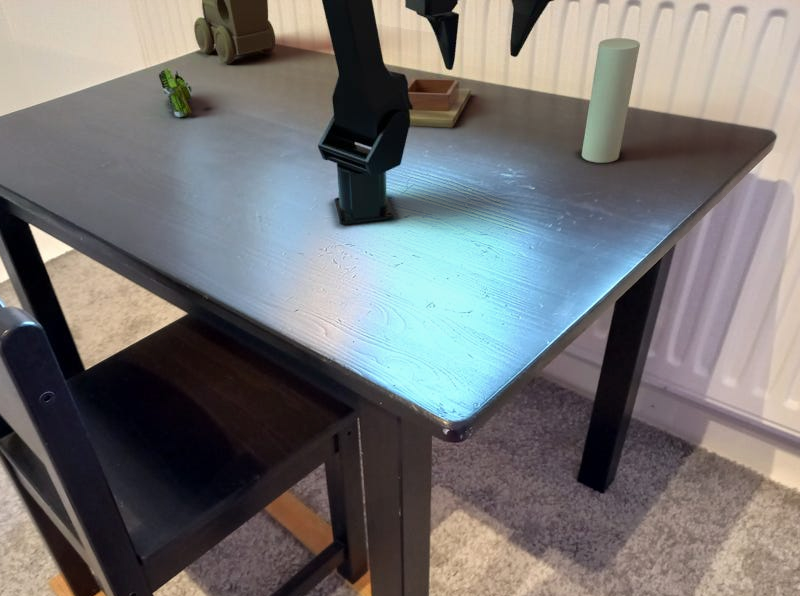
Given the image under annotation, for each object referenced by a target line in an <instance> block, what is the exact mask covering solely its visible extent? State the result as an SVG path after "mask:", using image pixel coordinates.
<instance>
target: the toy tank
mask: <svg viewBox="0 0 800 596" xmlns="http://www.w3.org/2000/svg"><path fill="white" fill-rule="evenodd" d="M175 72H176V73H175V74H174V75H173V73H172V71H171V70H170V69H169V68H164V69H163V70H161V72H159V74H158V78H159V81H160V83H161V87H162V89H163V92H164V94H166V95H168V96H167V99H168V101H169V104H170V107H171V110H172V113H173V115H174V117H178V118H182V117H187V116H188V115H189V114H191V113H192V110H191V108H190V105H189V103H188V100H190V99H191V97H192V96H191V93H192V92H193V90H192V89H193V88H192V86H191V85H189V83H188V82H185V79H184V78H183V76H179V74H178V71H175Z"/></svg>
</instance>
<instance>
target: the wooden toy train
mask: <svg viewBox="0 0 800 596" xmlns="http://www.w3.org/2000/svg"><path fill="white" fill-rule="evenodd" d="M268 2H269V1H268V0H201V8H202V15H203V17H201V16H200V17H198V18H197V19H196V20H195V22H194V25H193V31H194V37H195V40H196V44H197V45H198V48H199V49H200V51H201V52H203V53H204V54H207V55H210V54H211V53H212V52H213V51H214V48H215V50H216V53H217V55H218V57H219V59H220V60H221V61H222V62H223V63H224V64H226V65H231V64H232V63H234V61H235V58H236V55H237V56H241V55H246V54H250V53H253V52H259V51H260V52H261V53H262V54H264V55H271V54H272V53H273V52H274V51H275V47H276V34H275V30H274V27H273V25H272V22H270V20H269V3H268Z"/></svg>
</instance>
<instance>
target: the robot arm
mask: <svg viewBox="0 0 800 596" xmlns="http://www.w3.org/2000/svg"><path fill="white" fill-rule="evenodd" d="M554 1H555V0H511V4H512V17H511V18H512V19H511V30H510V41H509V49H510V50H509V53H510V56H511V57H513V58H516V57H518V56H519V54H520V52H521V51H522V49H523V48H524V47H523V46H524V45H525V43H526V42H527V39H528V38H529V36H530V34H531V32H532V30H533V29H534V27H535V25H536V23H537V22H538V20H539V19H540V17H541V16H542V15H543V12H544V11H545V9H546V8H547V6H548V5H549V3H550V2H554ZM404 2H405V5H404V6H405V8H406V9H409V10H411V11H413V12H415V14H416V15H418V16H420V17H422V18H425V19H426V20H427V21H428V23H429V25H430V26H431V29H432V31H433V33H434V35H435V38H436V42H437V45H438V48H439V51H440V54H441V57H442V61H443V64H444V67H445V69H446V70H448V71H452V70H453V68H454V64H455V60H456V52H457V40H458V31H459V22H460V21H459V20H460V13H457V12H455V11H454V9H455V8H456V7H457V5H458V4H459V0H405V1H404ZM321 3H322V7H323V11H324V16H325V19H326V24H327V28H328V34H329V37H330V42H331V46H332V51H333V54H334V58H335V62H336V66H337V71H338V77H337V80H336V82H335V86H334V89H333V93H332V95H331V101H332V111H333V116H332V118H331V119H330V121H329V122H328V125H327V127H326V129H325V130H324V133H323V134H322V136H321V138H320V140H319V142H318V144H317V148H318V151H319V153H320V156H321V159H322V160H324V161H329V162H332V163H334V164H336V171H337V187H338V197H335V198H334V207H335V211H336V214H337V219H338V223H339V225H351V224H359V223H361V224H362V223H368V222H377V221H384V220H385V221H386V220H393V219H394V216H395V215H394V211H393V208H392V205H391V203H390V201H389V197H388V195H387V192H388V191H387V172H388V171H390V170H393V169H395V168H397V167H399V166H401V164H402V161H403V156H404V151H405V147H406V143H407V138H408V134H409V129H410V127H411V126H410V113H409V110H412V109H413V106H412V104H411V102H410V99H409V94H408V84H409V82H408V79H407V75H406V74H404V73H401V72H396V71H391V70H389V69H388V68H387V66H386V65H385V61H384V57H383V52H382V46H381V42H380V41H381V40H380V36H379V31H378V24H377V20H376V19H377V17H376V14H375V8H374V3H373V0H321ZM361 145H363V146H361ZM364 146H366V147H364ZM368 147H369V148H368Z"/></svg>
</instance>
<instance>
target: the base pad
mask: <svg viewBox="0 0 800 596" xmlns="http://www.w3.org/2000/svg"><path fill="white" fill-rule="evenodd" d="M471 91H472V90H471V88H460V79H459V78H428V77H426V78H425V77H412V78H411V81H409V82H408V94H409V99H410V102H411V104H412V106H413V109H412V110H409V113H410V127H412V126H414V127H430V128H433V127H435V128H449V129H450V128H451V129H452V128H453V127H454V125H455V124H456V122H457V120H458V119H459V117H460V115H461V114H462V112H463V110H464V108H465V106H466V105H467V103H468V101H469V99H470V98H471V94H472V93H471Z"/></svg>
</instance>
